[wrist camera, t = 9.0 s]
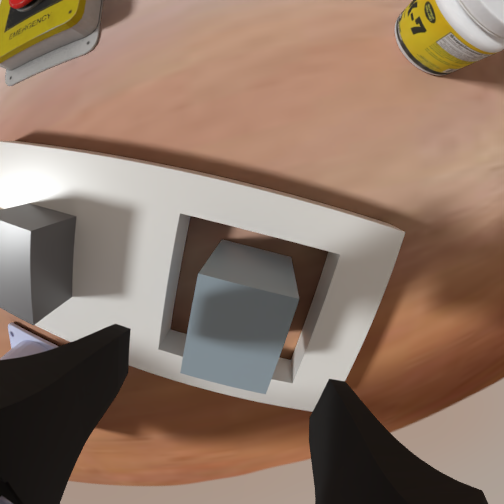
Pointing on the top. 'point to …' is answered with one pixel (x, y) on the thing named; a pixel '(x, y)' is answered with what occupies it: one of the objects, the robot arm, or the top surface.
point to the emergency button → (45, 34)
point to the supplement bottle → (450, 33)
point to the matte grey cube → (35, 260)
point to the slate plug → (240, 316)
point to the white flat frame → (171, 253)
